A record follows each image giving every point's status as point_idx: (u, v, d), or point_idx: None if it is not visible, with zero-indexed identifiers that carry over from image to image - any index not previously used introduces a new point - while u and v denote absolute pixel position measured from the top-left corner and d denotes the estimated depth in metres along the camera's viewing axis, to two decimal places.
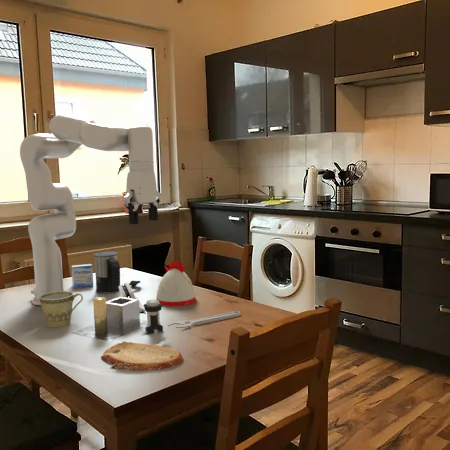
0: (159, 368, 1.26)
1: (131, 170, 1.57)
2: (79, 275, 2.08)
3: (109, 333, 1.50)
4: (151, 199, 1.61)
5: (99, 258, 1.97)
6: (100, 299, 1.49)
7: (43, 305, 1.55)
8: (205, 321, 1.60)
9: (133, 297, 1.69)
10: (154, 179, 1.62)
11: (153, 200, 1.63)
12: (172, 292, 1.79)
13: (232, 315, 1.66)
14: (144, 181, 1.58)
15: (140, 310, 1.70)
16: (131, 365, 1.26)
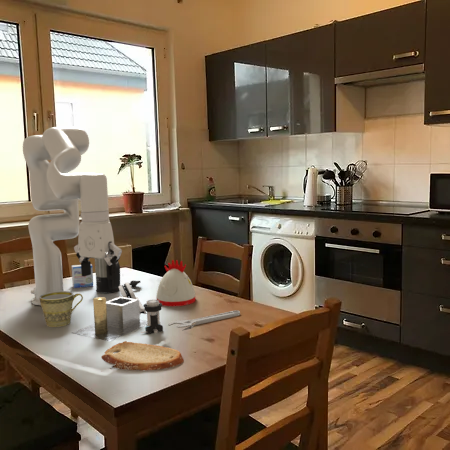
0: (159, 368, 1.26)
1: (102, 221, 1.44)
2: (79, 275, 2.08)
3: (109, 333, 1.50)
4: None
5: None
6: (100, 299, 1.49)
7: (43, 305, 1.55)
8: (205, 320, 1.61)
9: (134, 297, 1.69)
10: None
11: None
12: (172, 292, 1.79)
13: (232, 314, 1.66)
14: None
15: (141, 310, 1.70)
16: (130, 364, 1.26)
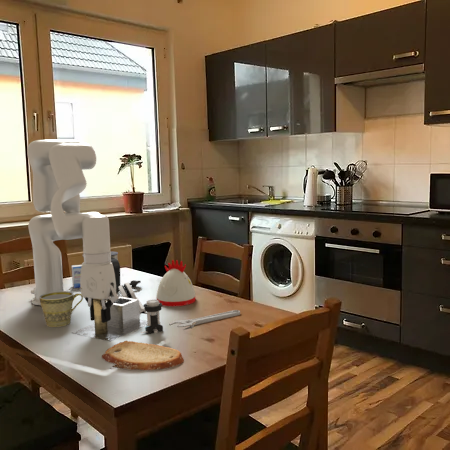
0: (158, 368, 1.26)
1: (104, 263, 1.45)
2: (79, 275, 2.08)
3: (109, 333, 1.50)
4: None
5: None
6: None
7: (43, 305, 1.55)
8: (206, 320, 1.61)
9: (134, 297, 1.69)
10: None
11: None
12: (172, 292, 1.79)
13: (232, 314, 1.67)
14: None
15: (141, 310, 1.70)
16: (130, 364, 1.26)
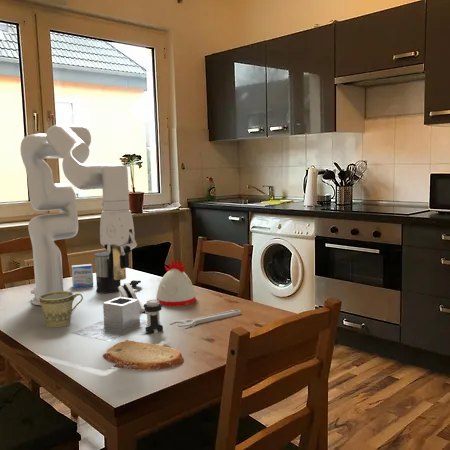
0: (158, 368, 1.26)
1: (123, 210, 1.51)
2: (79, 275, 2.08)
3: (109, 333, 1.50)
4: None
5: (99, 258, 1.97)
6: (119, 246, 1.55)
7: (43, 305, 1.55)
8: (206, 319, 1.62)
9: (135, 297, 1.69)
10: None
11: None
12: (172, 292, 1.79)
13: (233, 313, 1.67)
14: None
15: (142, 310, 1.70)
16: (130, 364, 1.26)
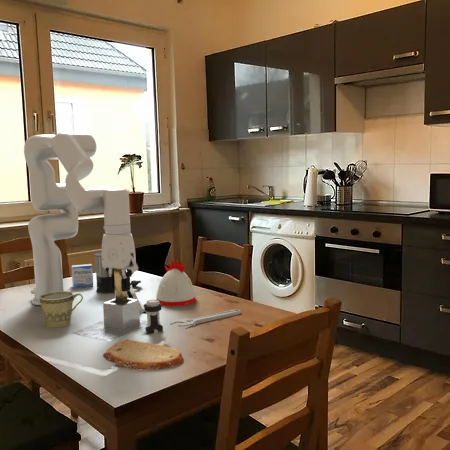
0: (157, 367, 1.26)
1: (124, 234, 1.52)
2: (79, 275, 2.08)
3: (109, 333, 1.50)
4: None
5: (99, 258, 1.97)
6: (120, 269, 1.56)
7: (43, 305, 1.55)
8: (206, 319, 1.62)
9: (135, 297, 1.69)
10: None
11: None
12: (172, 292, 1.79)
13: (233, 313, 1.68)
14: None
15: (142, 310, 1.70)
16: (130, 363, 1.27)
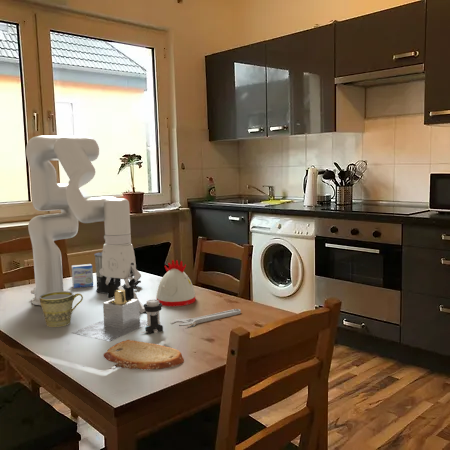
0: (157, 367, 1.26)
1: (125, 244, 1.53)
2: (79, 275, 2.08)
3: (109, 333, 1.50)
4: None
5: (99, 258, 1.97)
6: (120, 291, 1.57)
7: (43, 305, 1.55)
8: (207, 319, 1.62)
9: (135, 297, 1.69)
10: None
11: None
12: (172, 292, 1.79)
13: (233, 313, 1.68)
14: None
15: (142, 310, 1.70)
16: (129, 363, 1.27)
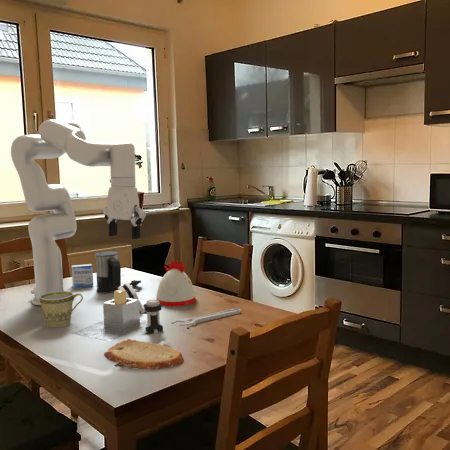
0: (157, 367, 1.26)
1: (129, 186, 1.59)
2: (79, 275, 2.08)
3: (109, 333, 1.50)
4: None
5: (100, 258, 1.97)
6: (120, 292, 1.56)
7: (43, 305, 1.55)
8: (207, 318, 1.63)
9: (136, 298, 1.69)
10: None
11: None
12: (172, 292, 1.79)
13: (233, 312, 1.69)
14: None
15: (143, 310, 1.70)
16: (129, 362, 1.27)
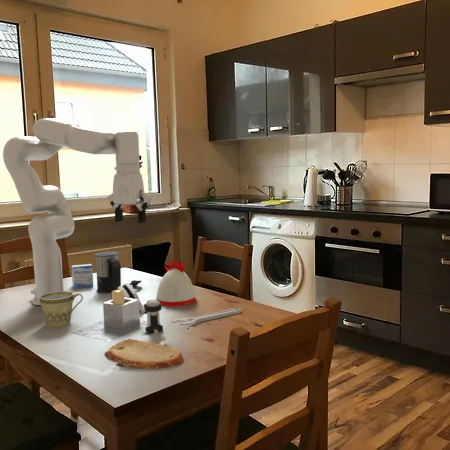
0: (156, 367, 1.27)
1: (134, 172, 1.65)
2: (79, 275, 2.08)
3: (109, 333, 1.50)
4: None
5: (100, 258, 1.98)
6: (118, 291, 1.57)
7: (43, 305, 1.55)
8: (208, 318, 1.63)
9: (137, 298, 1.69)
10: None
11: None
12: (172, 292, 1.79)
13: (233, 312, 1.69)
14: None
15: (144, 310, 1.70)
16: (129, 362, 1.27)
